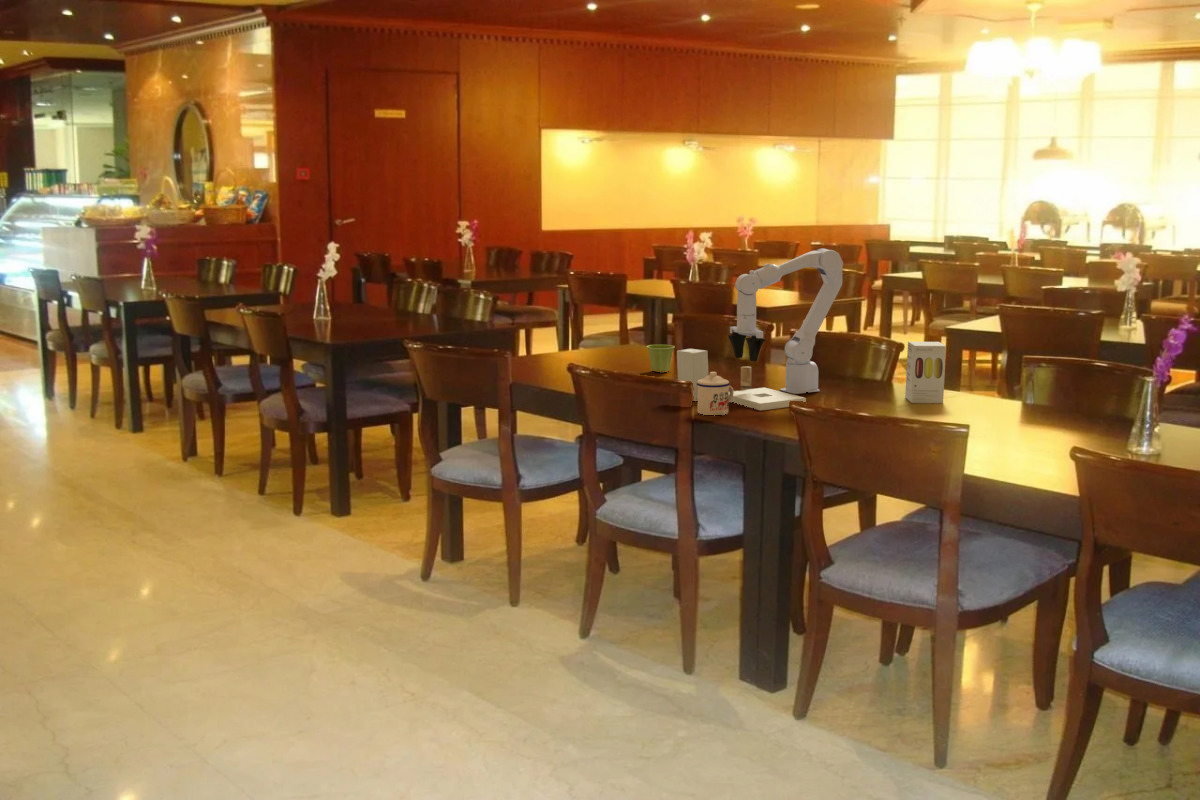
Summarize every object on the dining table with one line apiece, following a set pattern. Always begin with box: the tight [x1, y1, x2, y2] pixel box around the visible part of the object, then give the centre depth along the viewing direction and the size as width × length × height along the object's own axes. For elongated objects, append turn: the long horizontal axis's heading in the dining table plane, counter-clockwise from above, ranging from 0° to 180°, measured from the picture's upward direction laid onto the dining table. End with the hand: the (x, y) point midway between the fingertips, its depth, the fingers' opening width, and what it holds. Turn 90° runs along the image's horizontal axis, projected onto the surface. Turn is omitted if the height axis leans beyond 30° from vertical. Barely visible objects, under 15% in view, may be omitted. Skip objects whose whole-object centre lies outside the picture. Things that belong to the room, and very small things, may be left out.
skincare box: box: [676, 348, 710, 401], centre depth 356 cm, size 8×6×15 cm
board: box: [729, 386, 807, 411], centre depth 352 cm, size 16×20×2 cm
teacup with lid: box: [697, 371, 735, 417], centre depth 337 cm, size 12×9×12 cm
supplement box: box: [904, 341, 947, 404], centre depth 350 cm, size 10×9×17 cm
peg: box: [739, 365, 752, 390], centre depth 365 cm, size 3×3×8 cm
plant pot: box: [646, 344, 676, 373], centre depth 406 cm, size 9×9×9 cm
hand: (746, 359), depth 364 cm, fingers open, 7 cm apart
